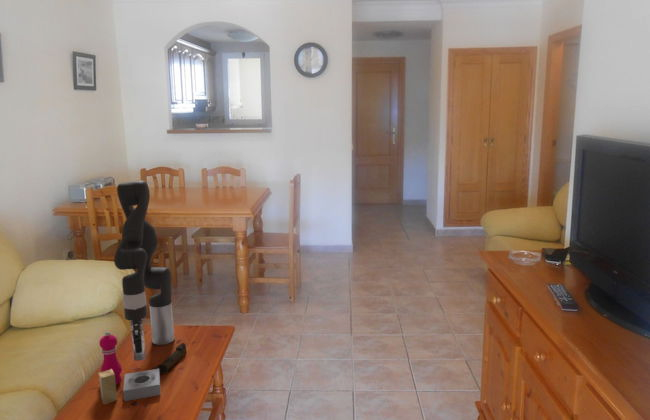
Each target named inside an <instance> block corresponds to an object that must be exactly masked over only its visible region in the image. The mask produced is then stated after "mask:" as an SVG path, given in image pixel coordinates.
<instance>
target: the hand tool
mask: <svg viewBox="0 0 650 420" xmlns="http://www.w3.org/2000/svg"><path fill="white" fill-rule="evenodd" d="M186 353H187V345H186V343H185V342H182V343H180V344H179V345H177V346H176V347H175V351H173V352H172V353H171V354H170V355H169V356H168V357H167V358H166V359H165V360H164V361H162V363H160V364H158V365H157V369H159V373H160V374H167V373H168V371H169V369H170V368H172V367H173V365H174V364H176V362H178V360H179V359H182V358H183V357H184V356H185V354H186Z"/></svg>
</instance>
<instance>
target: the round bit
mask: <svg viewBox="0 0 650 420" xmlns="http://www.w3.org/2000/svg"><path fill="white" fill-rule="evenodd" d="M142 331H143V335H142V336H141V338H142V352H141V353H136V352H135V344H134V343H133V342H134V340H133V337H132V336H131V342H132V352H133V355H132V356H133V360H134V361H143V360H145V359H146V358H147V356H146V344H145V331H144V329H143V330H142ZM140 333H141V332H140ZM136 340H139V339H136Z"/></svg>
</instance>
